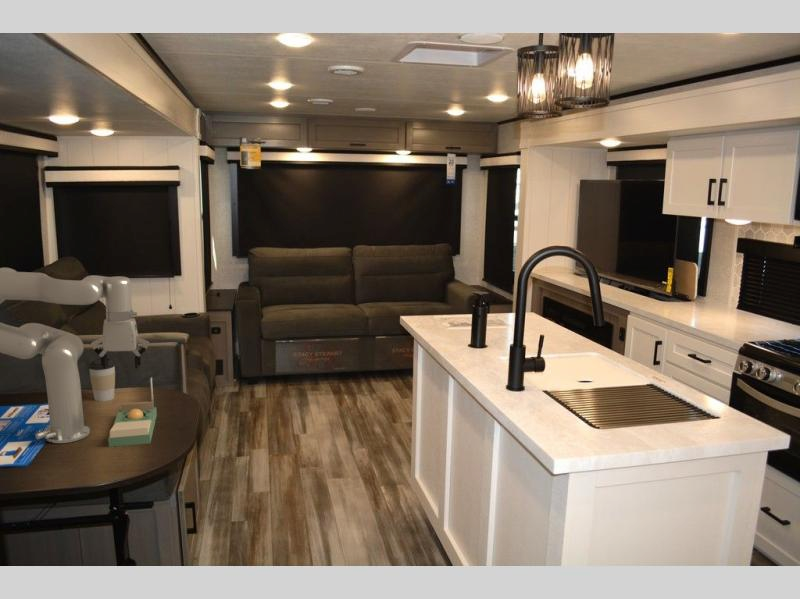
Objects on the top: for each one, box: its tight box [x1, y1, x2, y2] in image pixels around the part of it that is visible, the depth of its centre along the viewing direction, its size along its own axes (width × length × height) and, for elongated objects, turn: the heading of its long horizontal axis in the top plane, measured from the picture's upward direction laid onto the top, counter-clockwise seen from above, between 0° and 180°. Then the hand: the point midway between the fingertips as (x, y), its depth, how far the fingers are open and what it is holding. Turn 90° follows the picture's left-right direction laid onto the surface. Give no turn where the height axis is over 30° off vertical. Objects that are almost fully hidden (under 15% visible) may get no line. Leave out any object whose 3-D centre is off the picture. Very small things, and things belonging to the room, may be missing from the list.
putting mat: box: [107, 376, 158, 448], centre depth 211 cm, size 25×12×14 cm, turn 16°
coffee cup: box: [88, 357, 116, 402], centre depth 238 cm, size 9×9×15 cm
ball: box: [127, 409, 143, 419], centre depth 216 cm, size 5×5×5 cm
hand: (121, 367), depth 206 cm, fingers open, 9 cm apart
